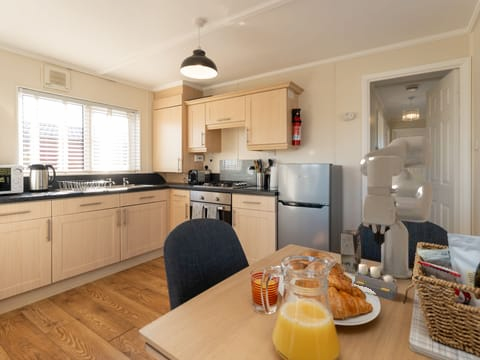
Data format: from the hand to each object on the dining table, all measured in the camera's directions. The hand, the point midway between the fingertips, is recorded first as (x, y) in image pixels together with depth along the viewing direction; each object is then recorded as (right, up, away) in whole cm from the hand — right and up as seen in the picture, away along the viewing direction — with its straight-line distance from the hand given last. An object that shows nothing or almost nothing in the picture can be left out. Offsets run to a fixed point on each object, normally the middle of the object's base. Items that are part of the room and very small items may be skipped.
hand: (379, 244), depth 90 cm
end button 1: (+2, -14, -1) cm, 15 cm away
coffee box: (0, -17, +22) cm, 28 cm away
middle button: (-1, -12, +2) cm, 12 cm away
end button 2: (-4, -12, +4) cm, 13 cm away
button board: (-1, -17, +2) cm, 17 cm away
